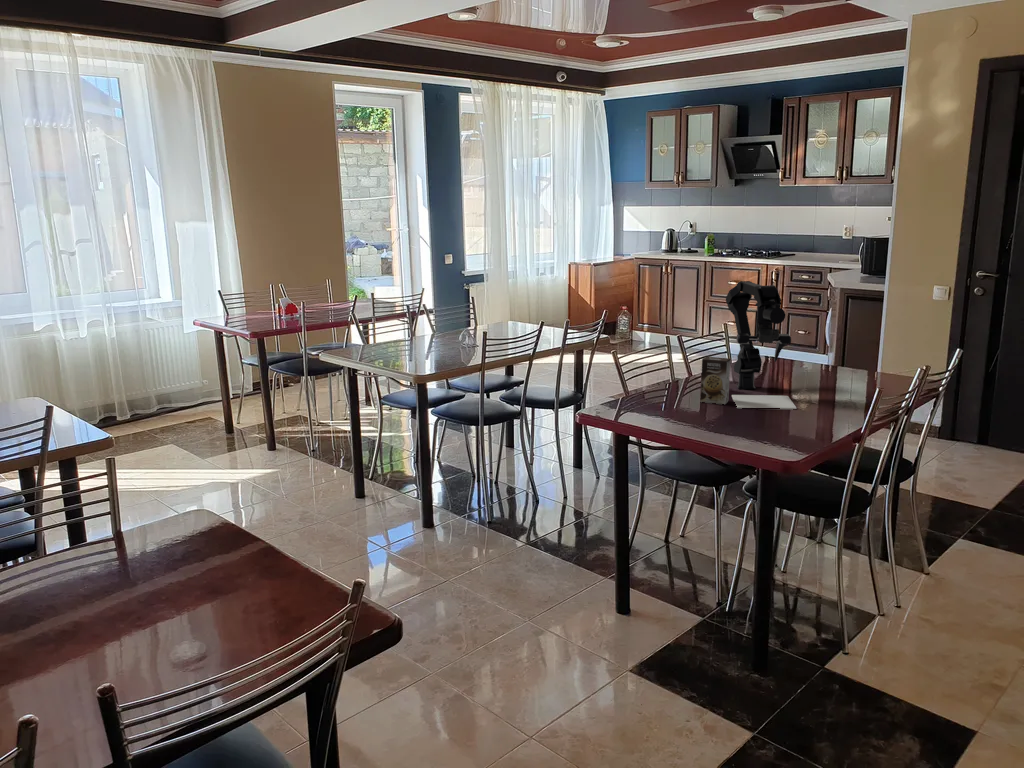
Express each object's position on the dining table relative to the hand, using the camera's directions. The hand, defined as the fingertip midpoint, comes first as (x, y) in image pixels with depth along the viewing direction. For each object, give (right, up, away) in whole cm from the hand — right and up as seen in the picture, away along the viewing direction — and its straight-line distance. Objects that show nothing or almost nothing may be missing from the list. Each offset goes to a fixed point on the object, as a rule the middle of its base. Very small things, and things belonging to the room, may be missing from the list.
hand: (762, 361), depth 293 cm
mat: (-2, -15, -8) cm, 17 cm away
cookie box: (-19, -15, -5) cm, 25 cm away
